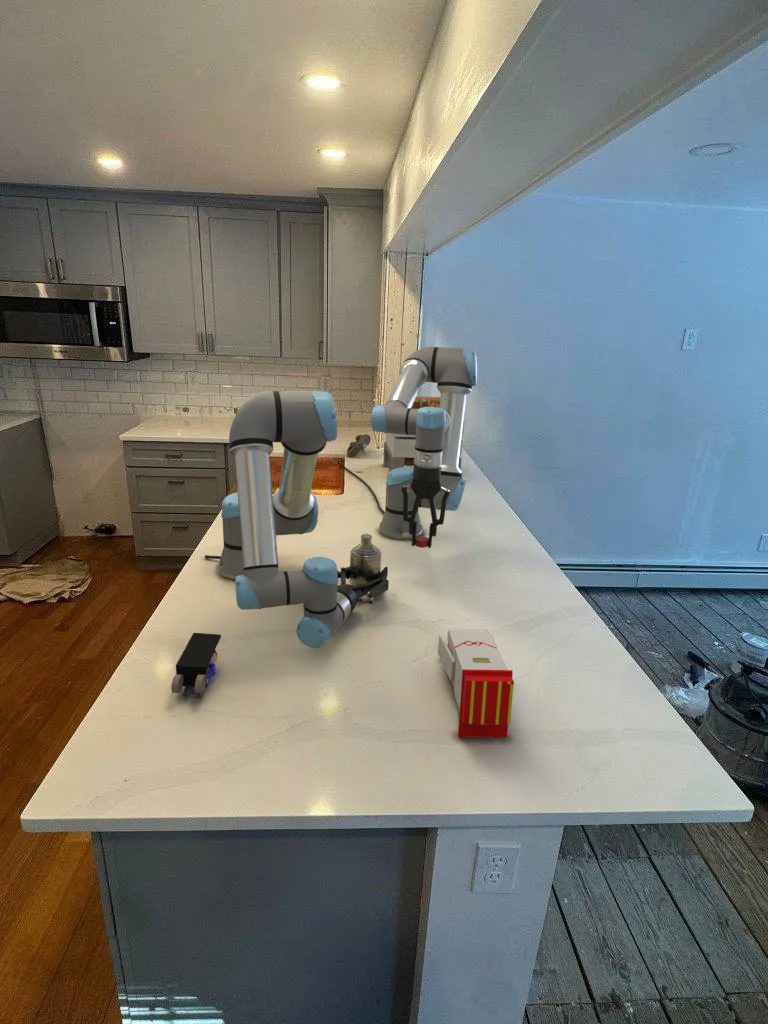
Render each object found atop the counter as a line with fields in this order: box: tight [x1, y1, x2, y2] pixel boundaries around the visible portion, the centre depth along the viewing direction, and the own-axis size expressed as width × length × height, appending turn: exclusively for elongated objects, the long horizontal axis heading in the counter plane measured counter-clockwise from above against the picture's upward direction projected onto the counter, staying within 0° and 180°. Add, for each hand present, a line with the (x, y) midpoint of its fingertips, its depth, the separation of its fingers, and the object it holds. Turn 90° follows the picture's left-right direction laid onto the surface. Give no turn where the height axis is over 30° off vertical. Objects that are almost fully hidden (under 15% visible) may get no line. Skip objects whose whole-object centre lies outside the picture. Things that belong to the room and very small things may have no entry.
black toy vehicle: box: [170, 632, 222, 699], centre depth 117 cm, size 7×8×15 cm
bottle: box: [349, 533, 382, 603], centre depth 153 cm, size 8×8×18 cm
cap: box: [414, 535, 429, 549], centre depth 161 cm, size 4×4×2 cm
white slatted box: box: [383, 395, 465, 472], centre depth 268 cm, size 34×33×41 cm
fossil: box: [346, 433, 372, 458], centre depth 305 cm, size 22×10×15 cm
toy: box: [437, 628, 515, 738], centre depth 117 cm, size 12×13×30 cm
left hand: (371, 568), depth 159 cm, fingers closed on bottle, 8 cm apart
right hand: (421, 545), depth 161 cm, fingers closed on cap, 4 cm apart
